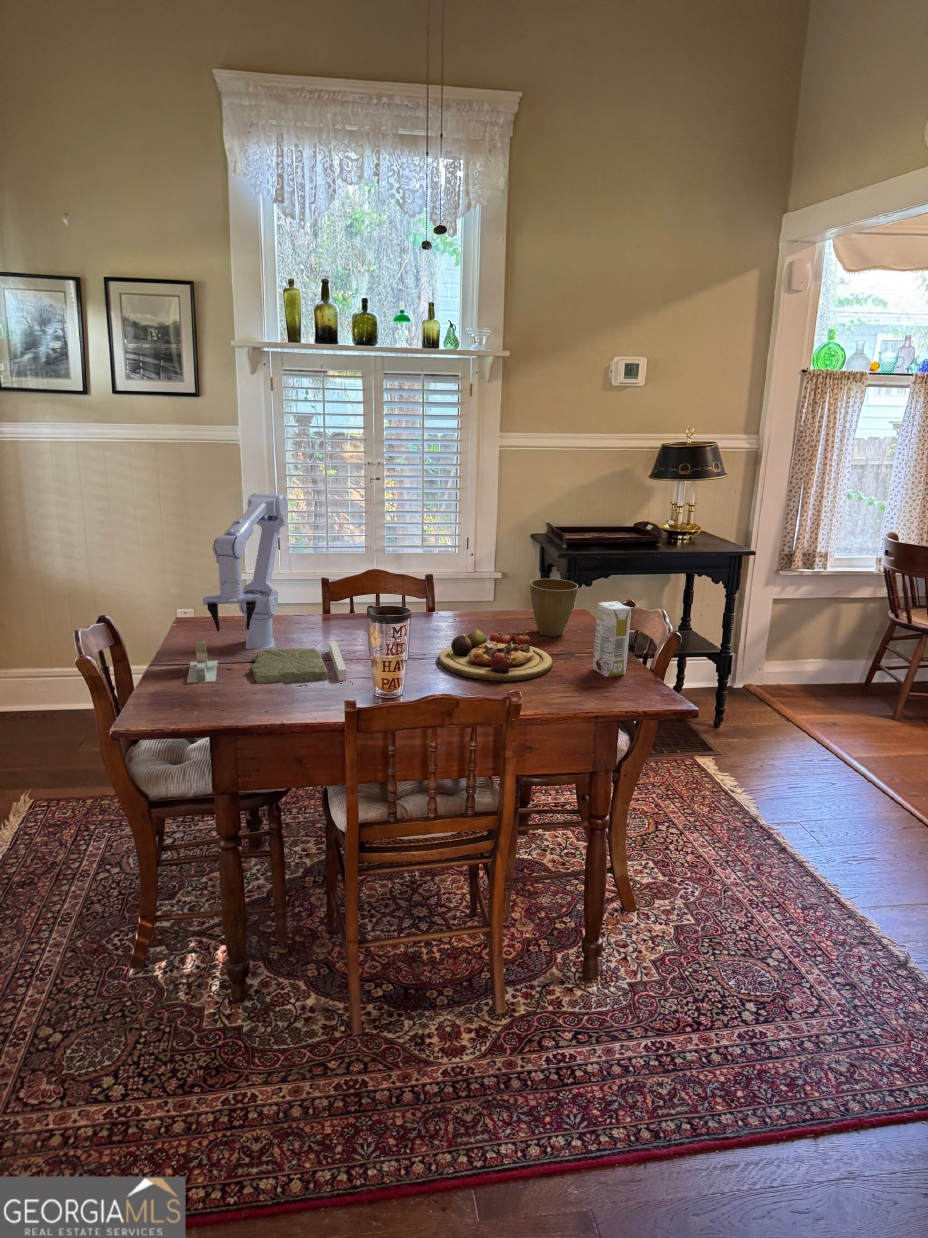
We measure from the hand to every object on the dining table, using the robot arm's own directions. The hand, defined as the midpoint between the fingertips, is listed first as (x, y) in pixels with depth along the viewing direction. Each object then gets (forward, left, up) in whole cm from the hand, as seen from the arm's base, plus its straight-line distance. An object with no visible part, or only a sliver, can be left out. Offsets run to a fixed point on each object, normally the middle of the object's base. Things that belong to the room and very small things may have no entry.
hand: (233, 629), depth 218 cm
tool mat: (+7, -8, -9) cm, 14 cm away
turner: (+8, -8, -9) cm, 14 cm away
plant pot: (-12, +96, -10) cm, 97 cm away
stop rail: (+7, +27, -9) cm, 29 cm away
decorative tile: (+8, +14, -10) cm, 19 cm away
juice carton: (+25, +99, -10) cm, 103 cm away
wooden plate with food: (+12, +70, -10) cm, 72 cm away
